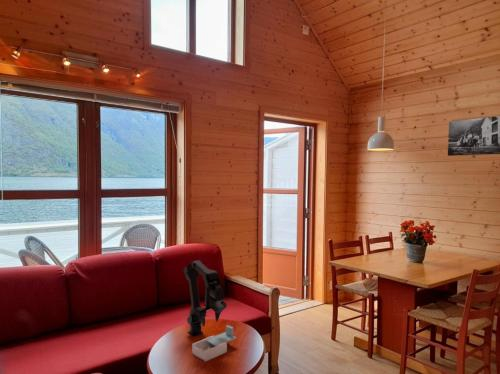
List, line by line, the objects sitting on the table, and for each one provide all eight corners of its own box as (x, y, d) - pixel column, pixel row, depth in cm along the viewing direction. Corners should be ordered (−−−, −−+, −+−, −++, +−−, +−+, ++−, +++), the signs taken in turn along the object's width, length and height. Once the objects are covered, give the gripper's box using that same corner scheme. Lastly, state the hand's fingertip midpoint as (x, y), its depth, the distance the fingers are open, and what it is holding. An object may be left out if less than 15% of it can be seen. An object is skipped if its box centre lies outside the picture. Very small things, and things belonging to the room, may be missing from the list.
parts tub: (192, 353, 180) (192, 343, 180) (213, 344, 191) (213, 335, 190) (205, 361, 173) (205, 351, 173) (226, 351, 183) (226, 342, 183)
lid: (205, 341, 185) (206, 331, 185) (225, 333, 195) (225, 324, 195) (216, 346, 179) (216, 337, 179) (236, 338, 189) (236, 328, 189)
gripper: (206, 303, 176) (206, 333, 177) (233, 294, 190) (233, 323, 190) (193, 297, 184) (192, 327, 185) (220, 289, 198) (219, 317, 198)
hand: (210, 323), depth 189 cm, fingers open, 9 cm apart
